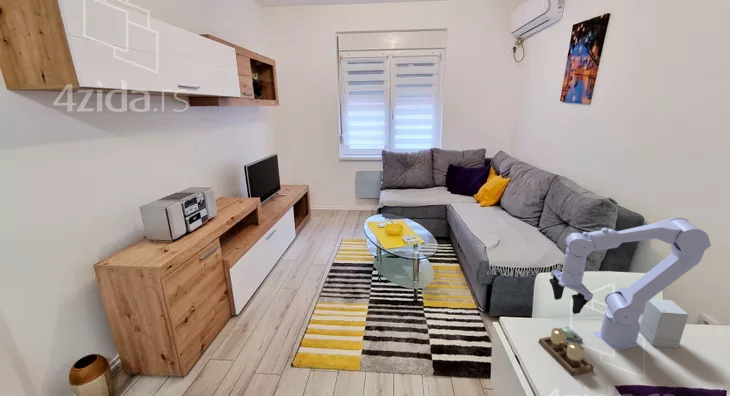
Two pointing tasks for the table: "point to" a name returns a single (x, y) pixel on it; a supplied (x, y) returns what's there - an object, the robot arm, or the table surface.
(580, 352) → the cylinder
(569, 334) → the button
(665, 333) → the supplement box
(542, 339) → the brown wooden tray
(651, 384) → the table surface
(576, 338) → the button housing
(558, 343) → the brass round-topped piece
